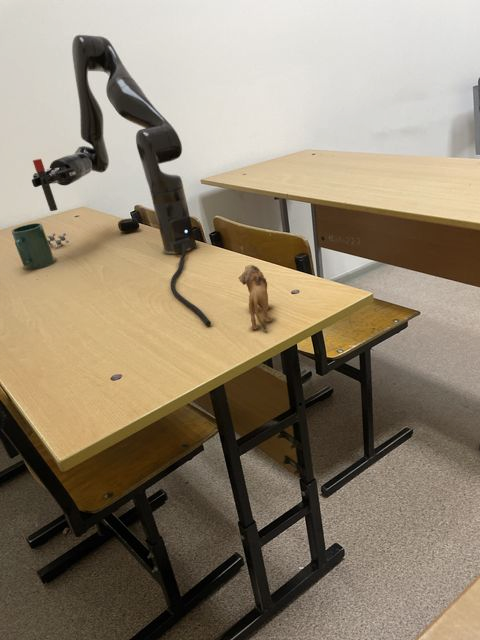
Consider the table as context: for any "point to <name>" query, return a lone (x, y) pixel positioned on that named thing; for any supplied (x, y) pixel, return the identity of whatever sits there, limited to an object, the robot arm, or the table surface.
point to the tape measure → (128, 225)
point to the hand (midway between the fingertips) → (38, 182)
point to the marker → (46, 189)
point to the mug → (33, 246)
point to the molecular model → (57, 240)
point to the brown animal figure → (256, 293)
